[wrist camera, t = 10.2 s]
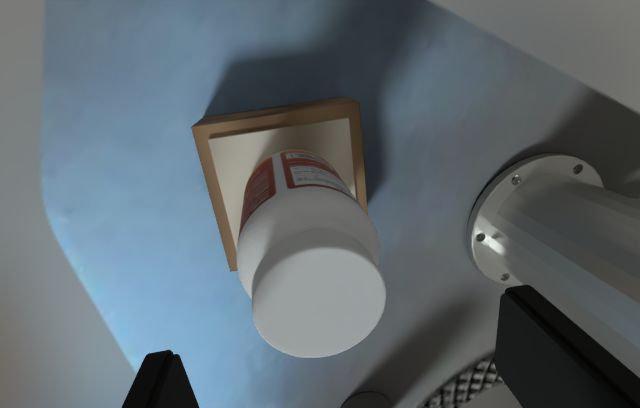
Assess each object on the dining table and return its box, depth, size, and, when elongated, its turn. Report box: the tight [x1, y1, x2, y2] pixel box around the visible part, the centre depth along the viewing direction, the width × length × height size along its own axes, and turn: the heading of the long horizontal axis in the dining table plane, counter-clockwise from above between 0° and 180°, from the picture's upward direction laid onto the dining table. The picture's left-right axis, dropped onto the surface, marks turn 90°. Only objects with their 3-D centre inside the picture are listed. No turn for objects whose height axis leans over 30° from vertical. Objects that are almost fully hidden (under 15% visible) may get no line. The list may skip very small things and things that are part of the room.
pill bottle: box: [237, 150, 386, 358], centre depth 16 cm, size 6×6×11 cm
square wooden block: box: [191, 97, 368, 272], centre depth 23 cm, size 10×10×4 cm
